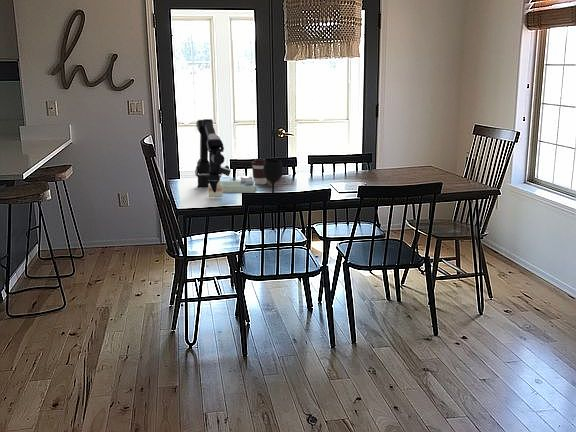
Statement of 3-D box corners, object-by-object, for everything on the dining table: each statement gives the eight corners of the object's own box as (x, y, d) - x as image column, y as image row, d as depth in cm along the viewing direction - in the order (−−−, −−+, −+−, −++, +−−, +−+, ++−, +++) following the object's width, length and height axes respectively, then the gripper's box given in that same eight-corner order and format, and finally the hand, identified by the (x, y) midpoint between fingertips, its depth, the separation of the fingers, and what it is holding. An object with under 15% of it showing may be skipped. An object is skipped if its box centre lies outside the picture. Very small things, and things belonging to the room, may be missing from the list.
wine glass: (282, 196, 337) (282, 159, 332) (283, 200, 326) (283, 162, 322) (263, 196, 336) (263, 159, 332) (263, 200, 326) (263, 162, 321)
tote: (216, 193, 343) (216, 186, 342) (218, 187, 358) (218, 181, 357) (254, 193, 344) (254, 186, 343) (254, 187, 359) (254, 181, 358)
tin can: (240, 190, 348) (240, 178, 346) (240, 188, 354) (240, 176, 352) (252, 190, 348) (252, 178, 346) (252, 188, 354) (252, 176, 353)
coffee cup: (253, 186, 364) (253, 160, 360) (250, 183, 373) (249, 158, 370) (270, 185, 367) (269, 160, 363) (266, 182, 376) (266, 157, 372)
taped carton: (208, 197, 332) (208, 184, 331) (209, 195, 337) (209, 182, 336) (221, 197, 333) (221, 184, 331) (222, 195, 337) (222, 182, 336)
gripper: (229, 164, 322) (229, 194, 325) (230, 159, 340) (231, 187, 344) (207, 164, 321) (208, 194, 325) (210, 159, 339) (210, 187, 343)
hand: (215, 190), depth 334 cm, fingers open, 9 cm apart
